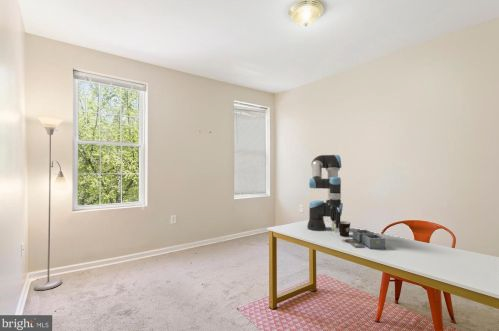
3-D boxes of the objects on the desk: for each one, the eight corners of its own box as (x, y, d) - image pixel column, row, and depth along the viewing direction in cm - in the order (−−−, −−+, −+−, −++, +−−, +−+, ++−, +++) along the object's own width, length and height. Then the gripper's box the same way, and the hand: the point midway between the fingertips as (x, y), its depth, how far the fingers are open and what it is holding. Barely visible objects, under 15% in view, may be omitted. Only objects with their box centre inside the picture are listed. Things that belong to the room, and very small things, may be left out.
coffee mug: (348, 234, 196) (348, 221, 196) (351, 237, 187) (351, 223, 187) (333, 233, 197) (333, 221, 197) (335, 237, 189) (335, 223, 188)
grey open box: (362, 244, 172) (362, 234, 171) (376, 243, 172) (376, 234, 172) (370, 249, 161) (370, 239, 161) (385, 248, 162) (385, 238, 162)
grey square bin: (352, 238, 183) (352, 230, 183) (366, 238, 184) (366, 229, 184) (359, 243, 173) (359, 233, 173) (373, 243, 174) (373, 233, 174)
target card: (345, 240, 180) (345, 239, 180) (353, 240, 180) (353, 238, 180) (355, 247, 164) (355, 246, 164) (364, 247, 164) (364, 246, 164)
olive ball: (330, 230, 183) (330, 223, 183) (337, 230, 183) (337, 223, 183) (333, 232, 178) (333, 225, 178) (340, 232, 178) (340, 225, 178)
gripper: (325, 196, 188) (325, 227, 189) (334, 201, 171) (334, 235, 171) (335, 196, 189) (335, 227, 190) (345, 200, 171) (345, 234, 172)
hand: (335, 231), depth 180 cm, fingers closed on olive ball, 5 cm apart
